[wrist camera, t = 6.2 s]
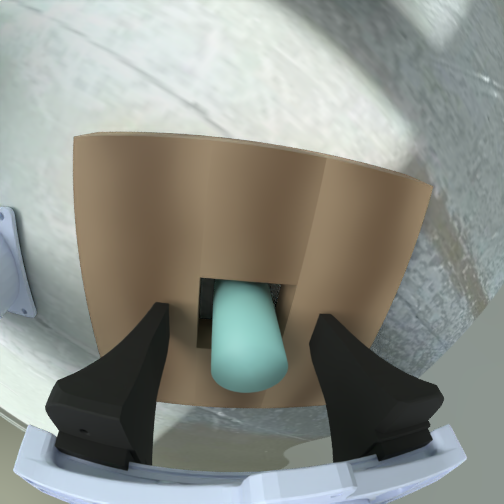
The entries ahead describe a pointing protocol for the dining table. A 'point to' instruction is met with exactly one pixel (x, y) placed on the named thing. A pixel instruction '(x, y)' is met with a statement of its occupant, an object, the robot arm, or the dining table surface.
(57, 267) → the dining table surface
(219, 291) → the peg
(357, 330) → the socket board
